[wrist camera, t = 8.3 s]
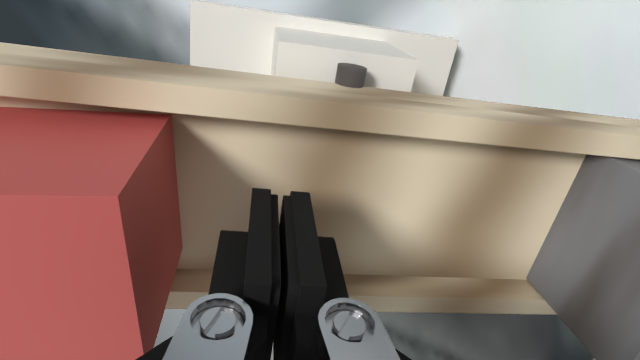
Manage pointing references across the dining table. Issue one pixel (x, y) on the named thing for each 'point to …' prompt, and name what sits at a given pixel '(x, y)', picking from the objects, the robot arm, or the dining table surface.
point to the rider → (85, 232)
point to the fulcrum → (316, 48)
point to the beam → (389, 184)
